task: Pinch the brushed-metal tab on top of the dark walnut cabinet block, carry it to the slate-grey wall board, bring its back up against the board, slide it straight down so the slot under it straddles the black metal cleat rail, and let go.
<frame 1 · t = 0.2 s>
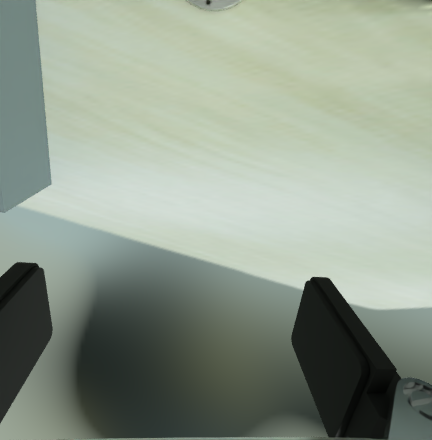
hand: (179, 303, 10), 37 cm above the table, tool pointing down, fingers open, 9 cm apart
wall board: (38, 100, 40), on the table
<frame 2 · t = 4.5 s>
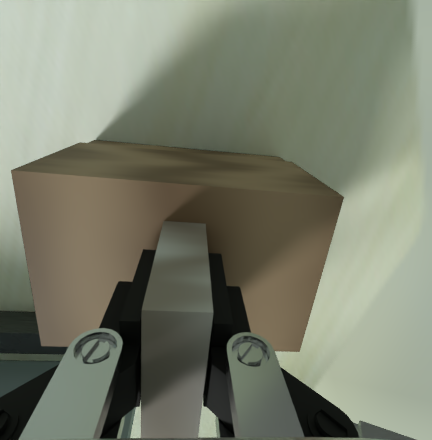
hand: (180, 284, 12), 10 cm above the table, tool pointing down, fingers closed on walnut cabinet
walnut cabinet: (186, 203, 20), on the table, touching gripper
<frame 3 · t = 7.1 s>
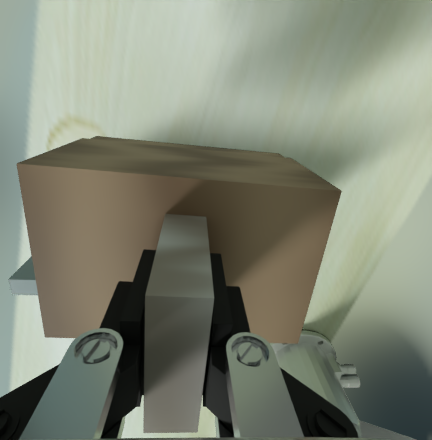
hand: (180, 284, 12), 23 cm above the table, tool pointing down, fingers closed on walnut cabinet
wall board: (170, 229, 36), on the table
walnut cabinet: (187, 199, 21), point 13 cm above the table, touching gripper
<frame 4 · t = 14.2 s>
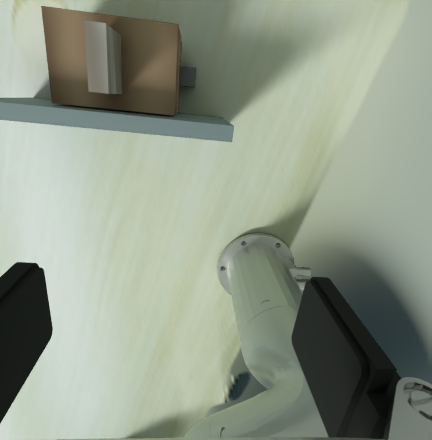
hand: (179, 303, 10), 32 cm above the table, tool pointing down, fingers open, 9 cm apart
wall board: (131, 114, 38), on the table
walnut cabinet: (131, 72, 36), on the table
cleat rail: (130, 71, 36), on the table
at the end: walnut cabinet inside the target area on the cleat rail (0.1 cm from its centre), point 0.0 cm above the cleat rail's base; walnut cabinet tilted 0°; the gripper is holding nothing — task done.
